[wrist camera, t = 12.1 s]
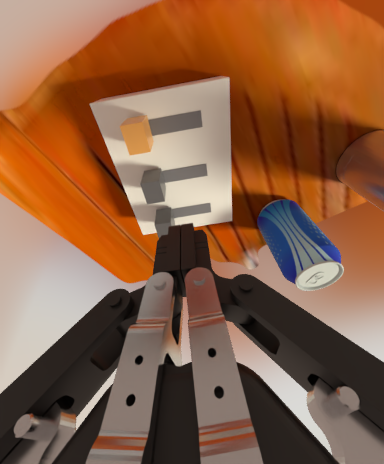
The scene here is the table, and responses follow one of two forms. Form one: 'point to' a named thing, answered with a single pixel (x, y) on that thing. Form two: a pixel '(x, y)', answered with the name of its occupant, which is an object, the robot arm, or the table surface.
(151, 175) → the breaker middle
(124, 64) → the table surface
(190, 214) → the breaker panel
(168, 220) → the block
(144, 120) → the block
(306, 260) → the beer can
